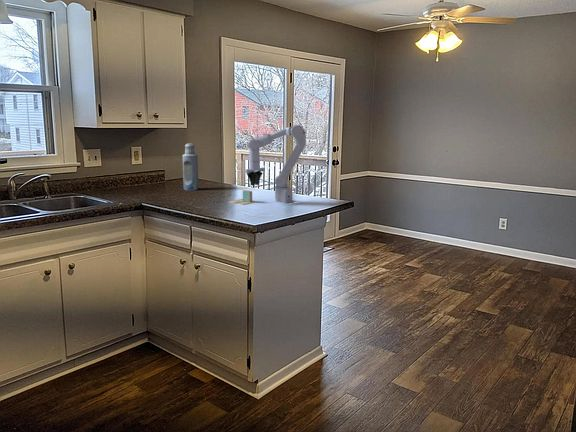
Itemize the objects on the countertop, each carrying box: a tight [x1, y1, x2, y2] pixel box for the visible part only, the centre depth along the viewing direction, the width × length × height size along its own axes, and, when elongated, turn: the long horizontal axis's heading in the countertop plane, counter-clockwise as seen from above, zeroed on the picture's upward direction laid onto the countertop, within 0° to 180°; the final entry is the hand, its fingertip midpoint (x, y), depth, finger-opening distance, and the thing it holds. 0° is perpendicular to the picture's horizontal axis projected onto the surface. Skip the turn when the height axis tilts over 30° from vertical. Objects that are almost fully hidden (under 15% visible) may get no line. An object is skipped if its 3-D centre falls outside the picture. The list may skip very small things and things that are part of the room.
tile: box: [242, 189, 253, 202], centre depth 272 cm, size 6×2×6 cm, turn 50°
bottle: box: [182, 143, 199, 191], centre depth 319 cm, size 10×10×30 cm
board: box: [228, 198, 260, 206], centre depth 272 cm, size 14×13×1 cm
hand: (254, 185), depth 275 cm, fingers open, 3 cm apart
